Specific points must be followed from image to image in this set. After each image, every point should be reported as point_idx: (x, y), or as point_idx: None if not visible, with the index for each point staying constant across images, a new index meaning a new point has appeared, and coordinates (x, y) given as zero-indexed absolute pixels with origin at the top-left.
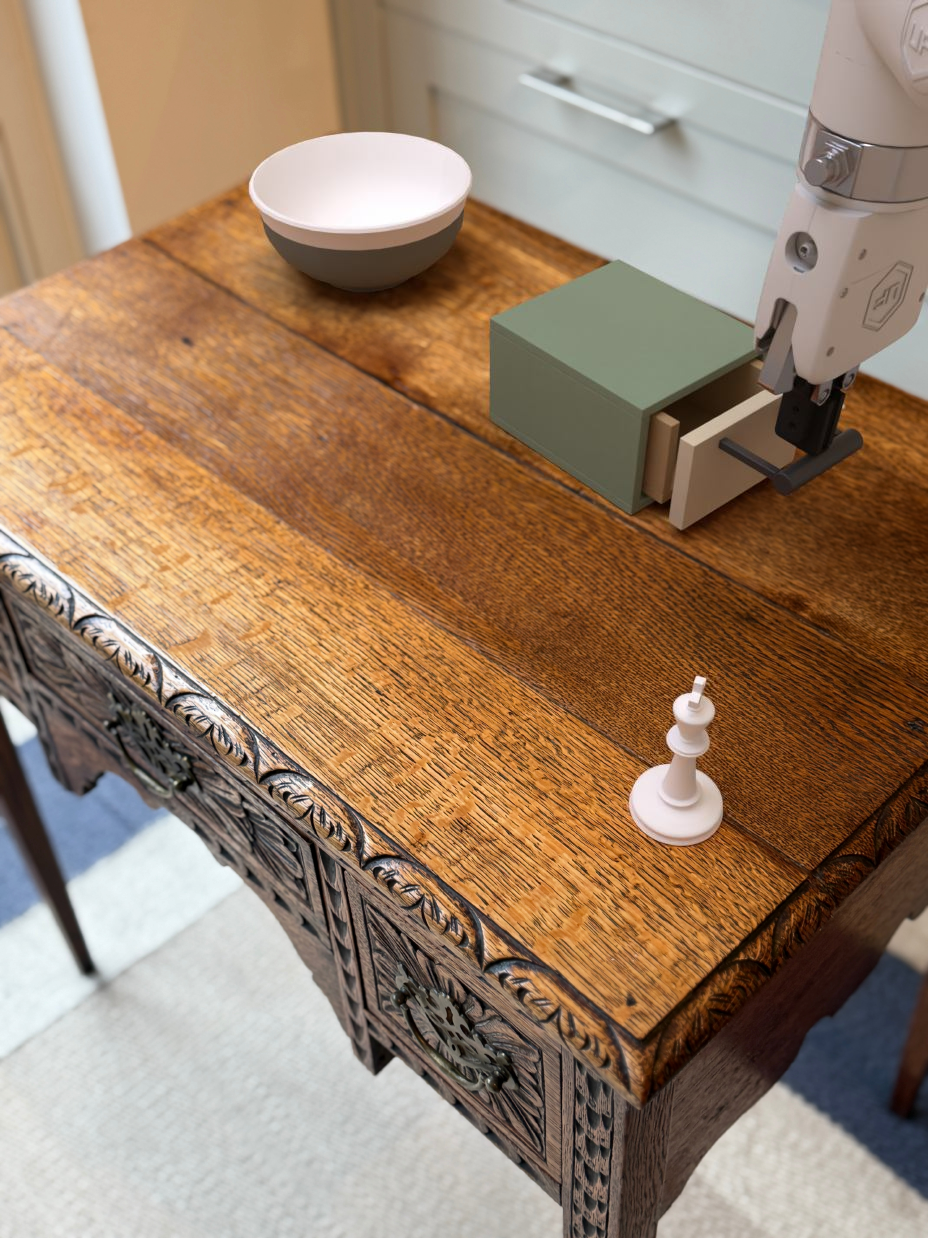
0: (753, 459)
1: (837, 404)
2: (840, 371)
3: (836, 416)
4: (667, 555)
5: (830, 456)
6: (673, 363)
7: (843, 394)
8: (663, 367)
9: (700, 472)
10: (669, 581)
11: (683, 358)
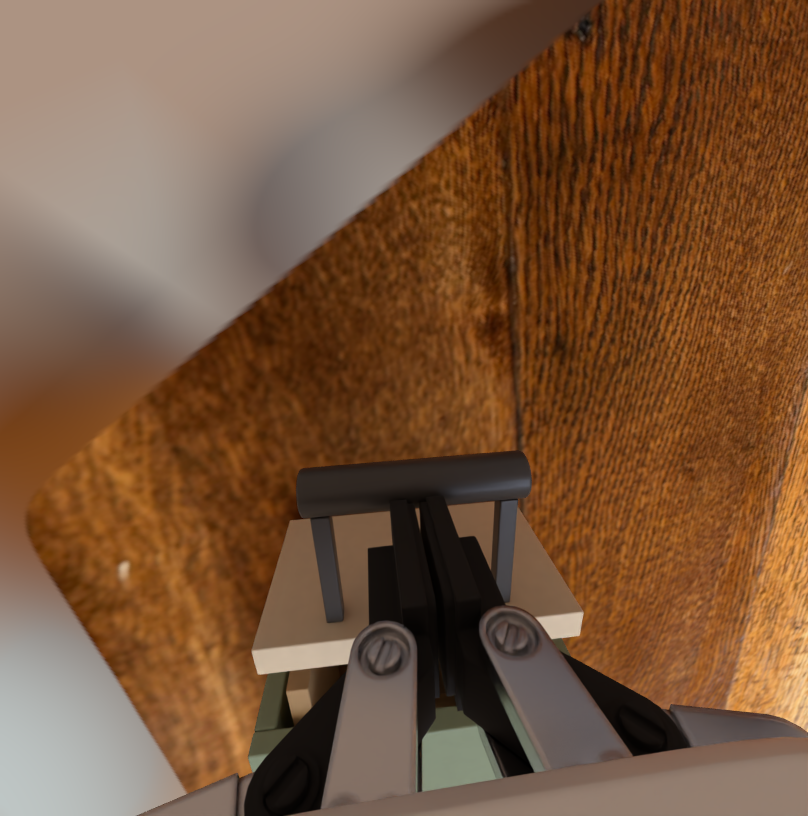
0: (513, 543)
1: (422, 585)
2: (798, 792)
3: (413, 553)
4: (536, 480)
5: (405, 478)
6: (456, 767)
7: (410, 608)
8: (478, 765)
9: (528, 561)
10: (570, 447)
11: (432, 770)
